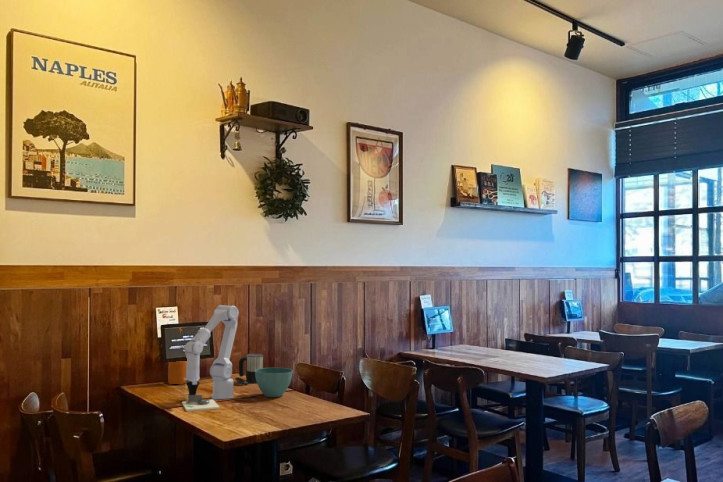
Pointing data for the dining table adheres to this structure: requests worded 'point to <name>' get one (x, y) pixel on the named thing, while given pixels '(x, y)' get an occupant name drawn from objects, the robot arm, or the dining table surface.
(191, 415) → the dining table surface
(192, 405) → the tuner plate
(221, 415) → the dining table surface
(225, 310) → the robot arm
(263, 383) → the plant pot
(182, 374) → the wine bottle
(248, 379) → the milk frother
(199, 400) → the tuner dial
